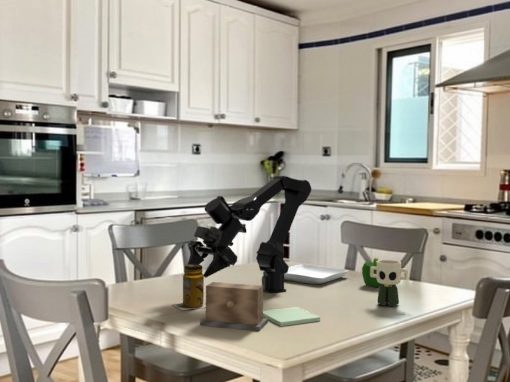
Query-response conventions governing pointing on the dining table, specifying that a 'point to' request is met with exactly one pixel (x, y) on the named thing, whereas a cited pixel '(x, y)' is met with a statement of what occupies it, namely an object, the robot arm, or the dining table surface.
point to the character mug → (388, 280)
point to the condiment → (192, 288)
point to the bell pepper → (366, 274)
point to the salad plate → (313, 274)
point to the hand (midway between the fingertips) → (195, 274)
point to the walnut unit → (234, 306)
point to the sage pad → (290, 316)
